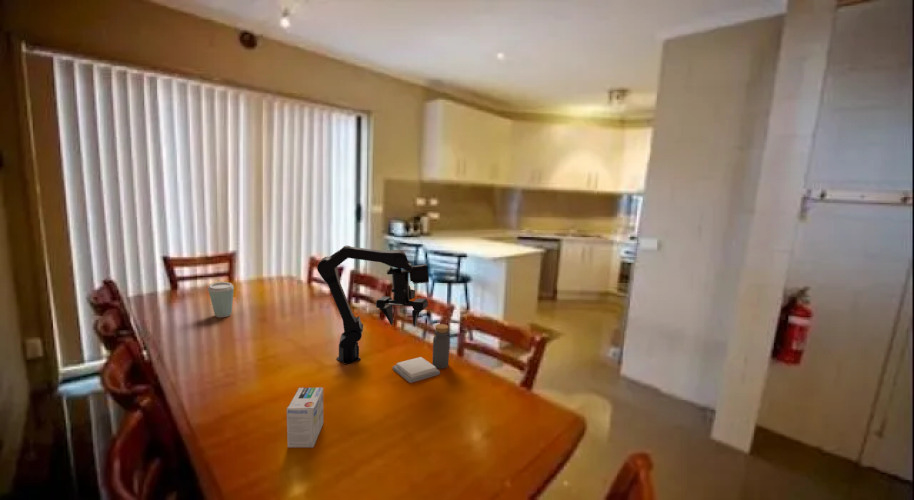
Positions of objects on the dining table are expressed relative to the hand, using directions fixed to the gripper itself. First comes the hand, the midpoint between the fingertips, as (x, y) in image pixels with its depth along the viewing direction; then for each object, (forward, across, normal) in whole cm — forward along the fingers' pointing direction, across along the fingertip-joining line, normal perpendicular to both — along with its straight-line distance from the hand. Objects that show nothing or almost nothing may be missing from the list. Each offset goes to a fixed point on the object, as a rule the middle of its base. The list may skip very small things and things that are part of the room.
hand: (403, 325), depth 156 cm
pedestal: (+13, -8, +10) cm, 18 cm away
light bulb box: (+11, +5, +53) cm, 55 cm away
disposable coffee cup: (+6, +97, -11) cm, 97 cm away
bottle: (+14, -14, +2) cm, 20 cm away
